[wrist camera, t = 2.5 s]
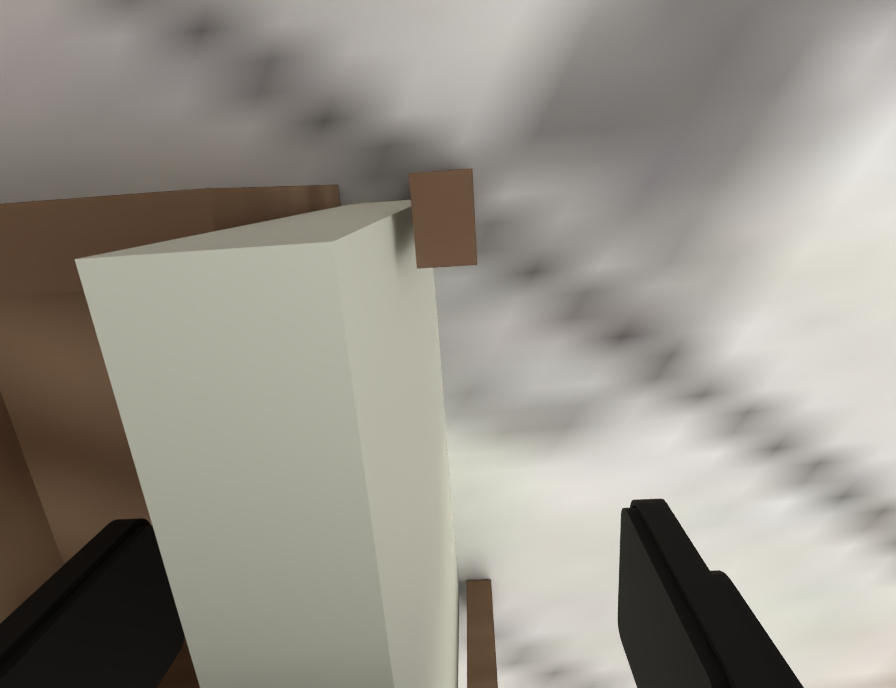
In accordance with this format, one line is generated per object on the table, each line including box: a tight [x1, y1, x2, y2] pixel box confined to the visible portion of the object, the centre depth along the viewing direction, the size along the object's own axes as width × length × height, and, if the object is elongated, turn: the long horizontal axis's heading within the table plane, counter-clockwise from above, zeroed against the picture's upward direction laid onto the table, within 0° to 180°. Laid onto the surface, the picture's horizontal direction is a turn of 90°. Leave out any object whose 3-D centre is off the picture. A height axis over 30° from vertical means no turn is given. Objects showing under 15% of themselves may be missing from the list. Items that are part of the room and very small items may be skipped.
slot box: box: [0, 169, 498, 688], centre depth 12 cm, size 14×15×7 cm
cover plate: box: [75, 200, 459, 688], centre depth 11 cm, size 13×2×10 cm, turn 4°
